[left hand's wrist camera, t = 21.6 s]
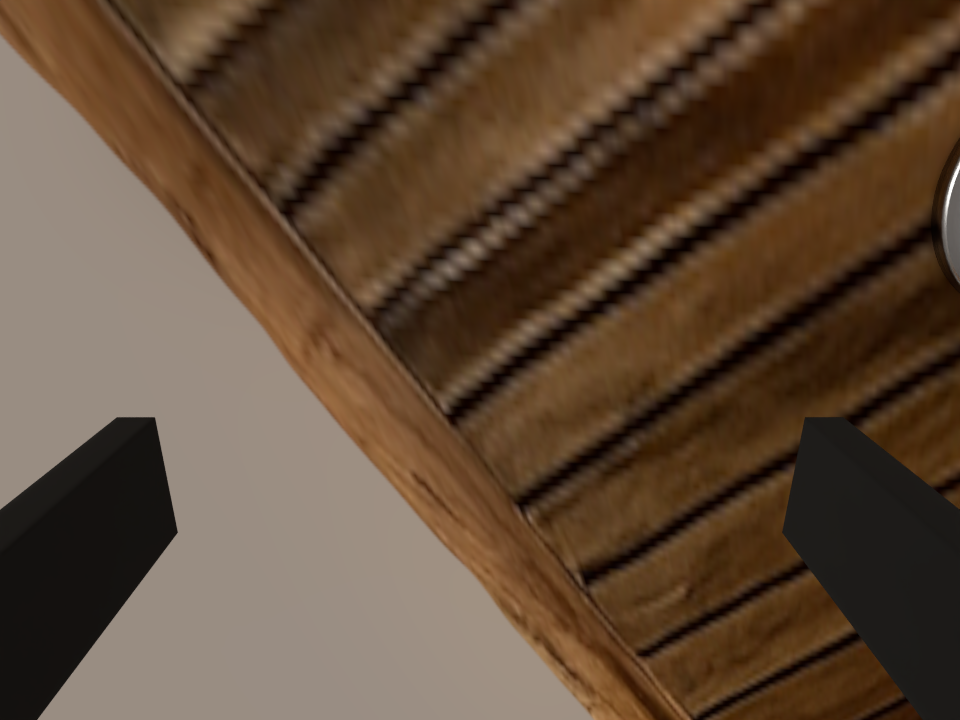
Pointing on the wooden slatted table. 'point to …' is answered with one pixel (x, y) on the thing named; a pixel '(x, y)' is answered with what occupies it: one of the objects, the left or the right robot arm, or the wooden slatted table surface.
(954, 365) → the wooden slatted table surface
